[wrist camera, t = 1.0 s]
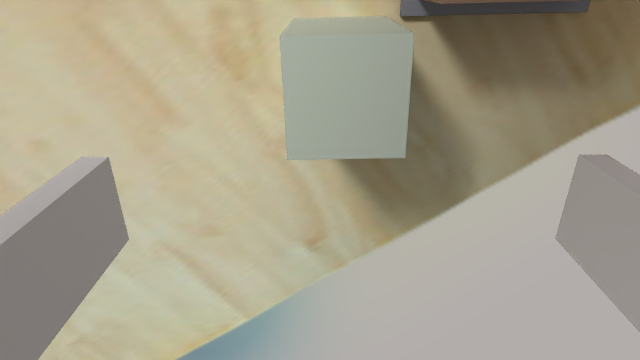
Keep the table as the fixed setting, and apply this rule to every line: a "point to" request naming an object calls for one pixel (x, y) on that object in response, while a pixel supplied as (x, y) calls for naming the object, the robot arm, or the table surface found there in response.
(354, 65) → the sage block
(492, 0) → the walnut block
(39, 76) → the table surface
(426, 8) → the slate mat
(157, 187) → the table surface
